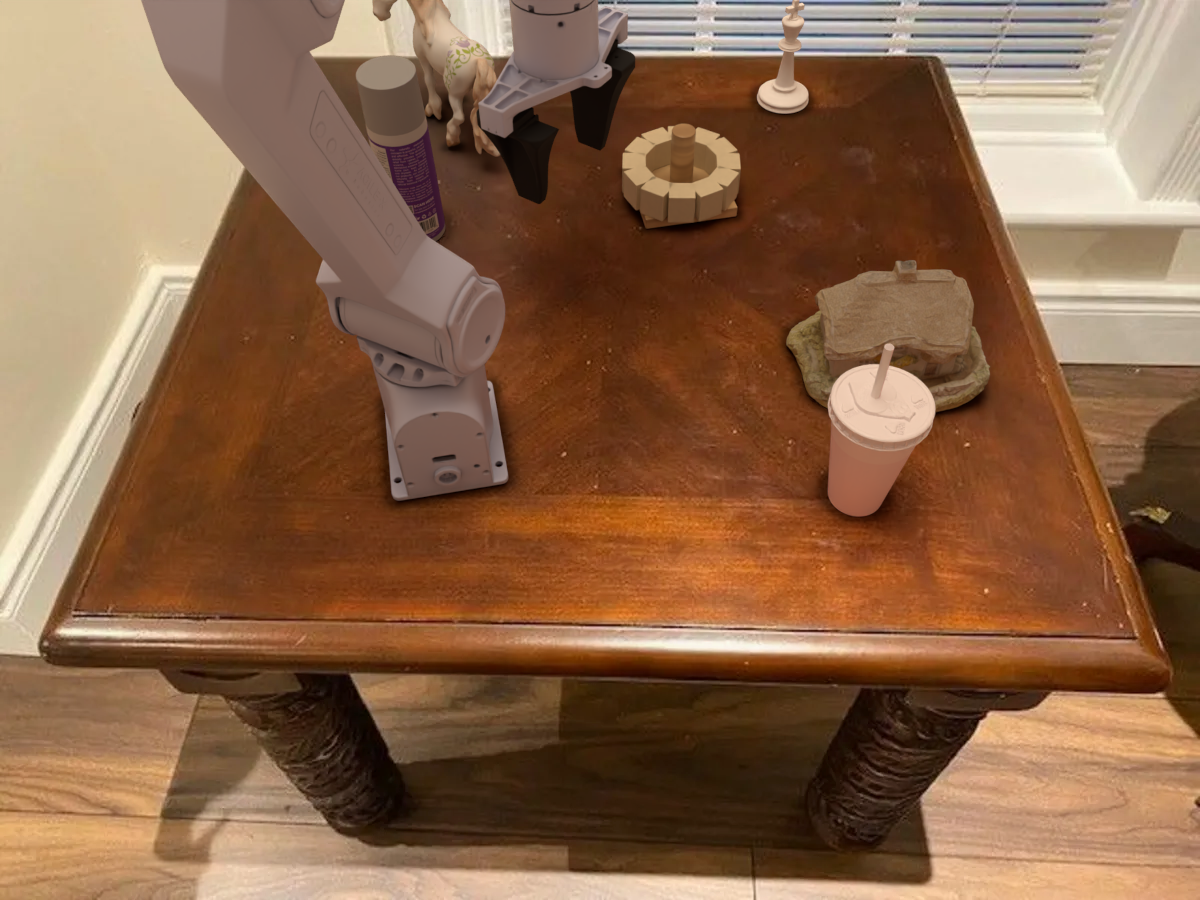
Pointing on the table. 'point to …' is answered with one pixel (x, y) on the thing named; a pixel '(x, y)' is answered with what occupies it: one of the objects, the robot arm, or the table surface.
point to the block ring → (680, 197)
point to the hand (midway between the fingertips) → (562, 170)
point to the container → (402, 136)
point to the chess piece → (786, 70)
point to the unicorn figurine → (448, 65)
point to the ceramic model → (895, 333)
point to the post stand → (683, 171)
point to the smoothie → (874, 432)
